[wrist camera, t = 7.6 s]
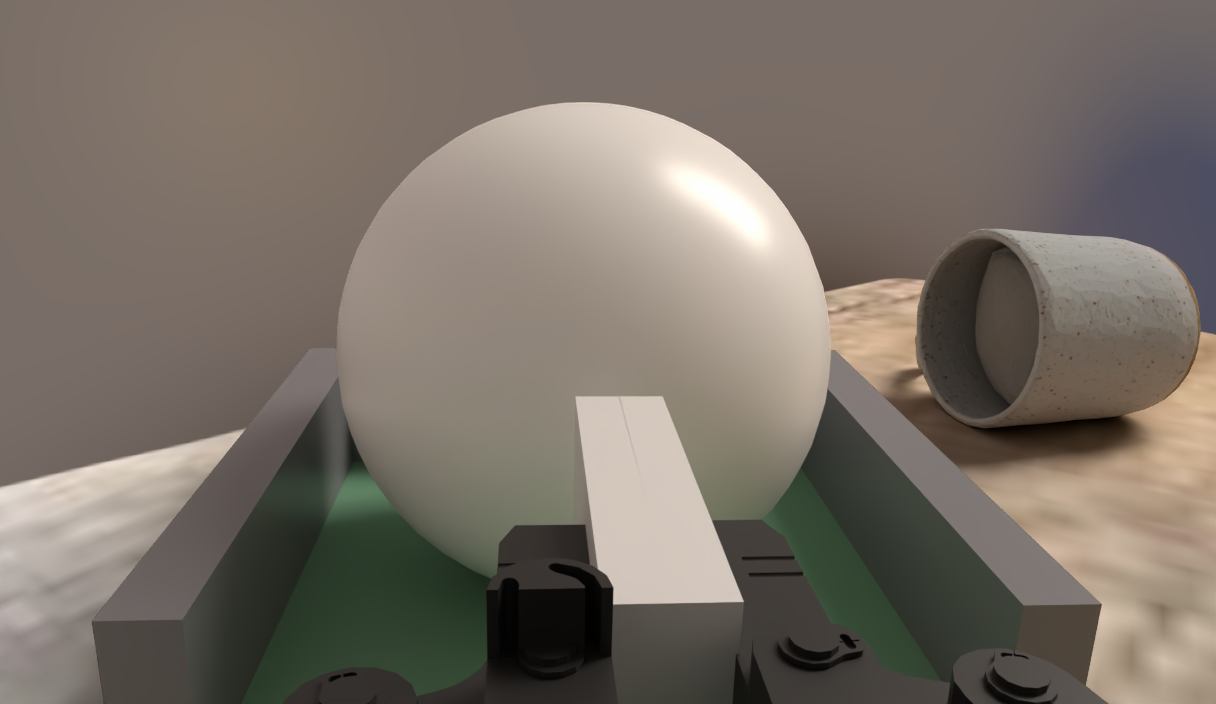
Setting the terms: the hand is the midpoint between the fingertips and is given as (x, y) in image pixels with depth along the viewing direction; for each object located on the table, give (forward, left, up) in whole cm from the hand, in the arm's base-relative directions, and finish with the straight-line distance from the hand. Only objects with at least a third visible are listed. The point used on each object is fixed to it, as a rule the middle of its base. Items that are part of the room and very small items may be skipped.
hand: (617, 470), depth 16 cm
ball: (0, -8, 0) cm, 8 cm away
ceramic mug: (-19, -21, -7) cm, 29 cm away
